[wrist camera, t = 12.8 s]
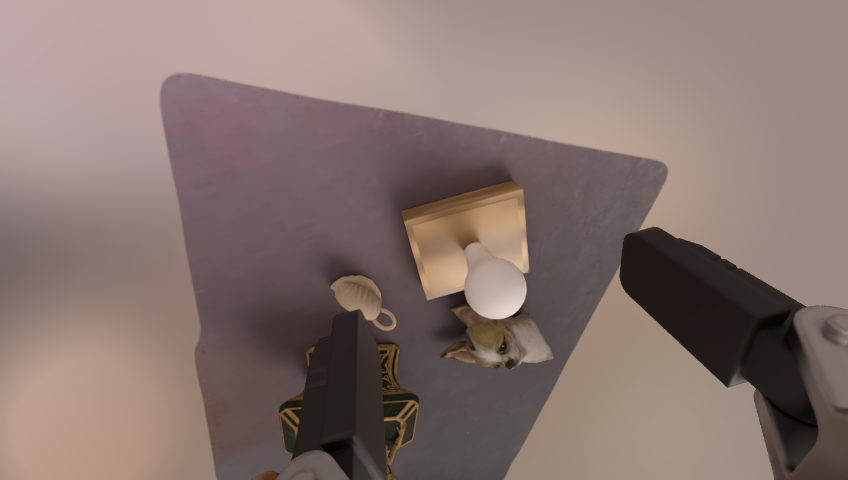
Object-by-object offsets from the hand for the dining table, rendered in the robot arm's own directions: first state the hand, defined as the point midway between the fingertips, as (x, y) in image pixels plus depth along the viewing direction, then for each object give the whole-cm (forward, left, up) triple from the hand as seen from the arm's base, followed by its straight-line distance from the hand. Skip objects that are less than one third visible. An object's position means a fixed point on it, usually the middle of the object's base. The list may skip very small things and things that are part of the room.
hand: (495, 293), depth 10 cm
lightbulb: (+16, +4, -26) cm, 30 cm away
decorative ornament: (+20, -11, -29) cm, 37 cm away
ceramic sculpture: (+32, +5, -29) cm, 43 cm away
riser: (+16, +4, -29) cm, 33 cm away
